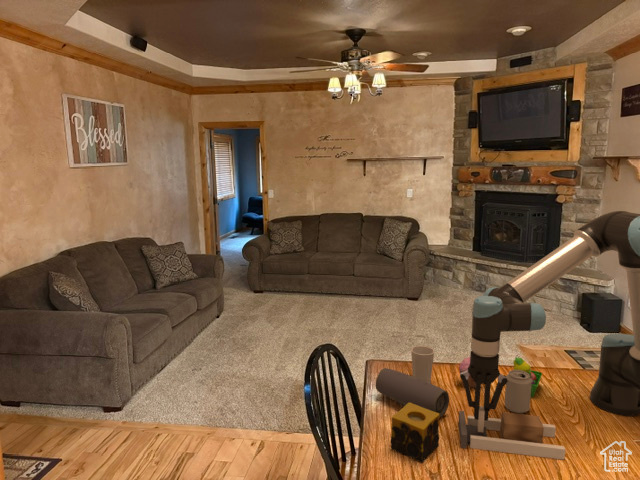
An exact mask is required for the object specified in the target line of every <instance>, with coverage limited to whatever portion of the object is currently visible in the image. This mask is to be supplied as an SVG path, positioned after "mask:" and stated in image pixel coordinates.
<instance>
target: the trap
mask: <svg viewBox="0 0 640 480" xmlns="http://www.w3.org/2000/svg"><path fill="white" fill-rule="evenodd" d="M458 430H459V431H458V432H459V441H460V442H459V443H460V448H461V449H467V447H468V445H469V446H470V435H474V436H482V437H488V434H487V429H486V427H484V431H483V432H478V429H477V426H472V425H467V422H466V415H465V410H458Z"/></svg>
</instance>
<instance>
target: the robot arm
mask: <svg viewBox="0 0 640 480" xmlns="http://www.w3.org/2000/svg"><path fill="white" fill-rule="evenodd" d="M610 251H614V252H617V258H618V265H619V266H620V267H621V268H623V269H625V270H626V278H627V288H628V297H629V298H628V299H629V304H630V305H629V306H630V314H631V315H630V316H631V325H632V332H633V334H627V333H626V334H625V333H609V334H605V335H604V336H603V337H602V340H601V341H602V342H601V344H600V356H599V358H600V359H599V365H598V366H599V367H598V377H597V379H596V380H595V382H594V385H593V386H592V388H591V390H590V392H589V393H590V395H589V399H590V402H591V403H592V404H594V405H595V406H596V407H597V408H599V409H601V410H603V411H606V412H609V413H612V414H615V415H620V416H627V417H629V416H630V417H634V416H640V213H636V212H629V211H625V210H615V211H610V212H606V213H604V214H602V215H599V216H598V217H595V218H594V219H592V220H590V221H588V222H587V223H585V224H584V225H582V226H581V227H579V228H578V229H576V230H575V231H574V233H573V237H571V238H570V239H568V240H567V241H565V242H564V243H563V244H561V245H560V246H558V247H557V248H555V249H554V250H553V251H551V252H550V253H548V254H547V255H545V256H544V257H542V258H541V259H539V260H538V261H537V262H535V263H534V264H532V265H531V266H529V267H528V268H527V269H526V270H523V271H522V272H521V273H519V274H517V276H515V277H514V278H512V279H510V281H508V282H506V283H505V284H504V285H502V286H501V287H496V286H493V287H489V288H487V289H486V290H485V291H484V292H483V295H480V296H477V297H475V299H474V300H473V304H472V311H471V314H472V315H471V317H472V318H471V319H472V320H471V338H470V339H471V341H470V355H469V357H470V365H469V367H468V370H467V371H465V372H463V371H461V372H460V371H459V378H460V380H461V381H463V382H462V384H463V383H464V385H463V387H464V390H465V394H466V395H465V396H466V401H467V405H468V407H470V408H473V416H474V418H475V419H477V429H478V432H483V431H484V420H486V421H487V420H488V418H489V413H490V410H496V409H497V406H498V403H499V400H500V398H501V395H502V393H503V389H504V387H506V383H507V382H508V380H507V377H506V376H507V375H505V374H502V373H501V372H500V370H499V363H500V361H499V358H500V354H499V353H500V346H501V344H500V343H501V335H502V334H501V333H502V332H505V333H506V332H532V331H540V330H542V329H543V328H544V327H545V325H546V321H547V319H546V318H547V315H546V311H545V309H544V307H543V306H542V305H541V304H540V303H537V302H536V303H535V302H527V301H529V300H530V299H532V298H533V297H535V296H536V295H537V294H539V293H540V292H542V291H543V290H545V289H546V288H548V287H549V286H551V285H552V284H554V283H555V282H556V281H558V280H559V279H562V277H563V276H565V275H566V274H568V273H569V272H571V271H572V270H574V269H575V268H576V267H579V265H581V264H583V263H584V262H586V261H587V260H589V259H590V258H591V257H595V258H596V257H599V256H601V254H604V253H606V252H610ZM469 374H470V376H471V377H472V379H473V380H474V381H475V388H474V400H473V398H472V394H471V389H470V388H469V383H468V379H469ZM496 380H497V383H496V386H495V388H494V391H493V394H492V397H491V386H492V384H493V383H494V382H495V381H496ZM482 385H484V392H483V393H484V394H483V397H484V398H483V406H482V405H480V404H481V389H482V388H481V387H482ZM490 398H491V400H490Z"/></svg>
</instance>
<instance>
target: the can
mask: <svg viewBox="0 0 640 480" xmlns="http://www.w3.org/2000/svg"><path fill="white" fill-rule="evenodd" d="M505 376H506V377H507V380H508V382H507V383H506V384H505V386H504V387H505V391H504V401H503V402H504V407H506V408H507V410H508V411H509V412H511V413H514V414H525V413H526V412H529V410H530V408H531V407H530V406H531V398H532V397H531V384H532V380H531V378H530V375H529V374H528V373H527V372H524V371H521V370H514V369H511V370H509V371H508V373H507V375H505Z"/></svg>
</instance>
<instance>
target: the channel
mask: <svg viewBox="0 0 640 480" xmlns="http://www.w3.org/2000/svg"><path fill="white" fill-rule="evenodd" d="M466 420H467V422H466V425H472V426H477V419H475V418H474V415H467V419H466ZM542 425H543V427H544V430H543V437H548V438H555V437H556V429H557V428H556V425H555V424H547V423H542ZM484 427H486V431H487V430H489V431H498V432H500V429H501V418H495V417H488V420H487V421H486V420H484ZM469 448H470V449H476V450H483V451H491V452H500V453H506V454H508V453H509V454H514V455H516V454H517V455H525V456H529V457H530V456H531V457H538V458H547V459H555V460H565V457H566V448H565V446H564V445H559V444H558V445H557V444H549V443H542V444H541V443H533V442H524V441H516V440H507V439H501V438H498V437H490V436H487V437H482V436H474V435H470V445H469Z"/></svg>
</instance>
